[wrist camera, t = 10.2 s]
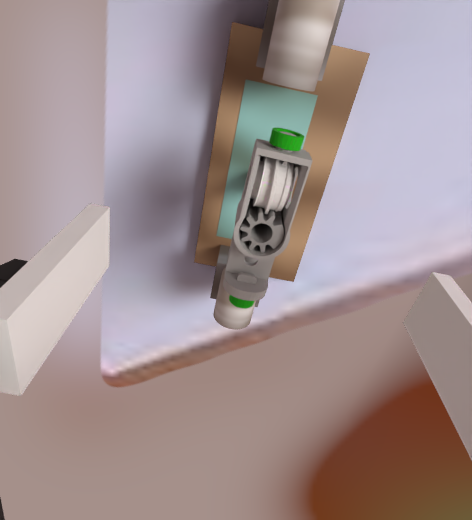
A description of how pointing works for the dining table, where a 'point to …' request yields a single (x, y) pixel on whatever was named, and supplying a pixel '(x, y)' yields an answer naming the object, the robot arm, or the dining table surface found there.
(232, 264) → the mechanical component
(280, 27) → the mint panel frame
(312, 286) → the dining table surface
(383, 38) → the dining table surface
